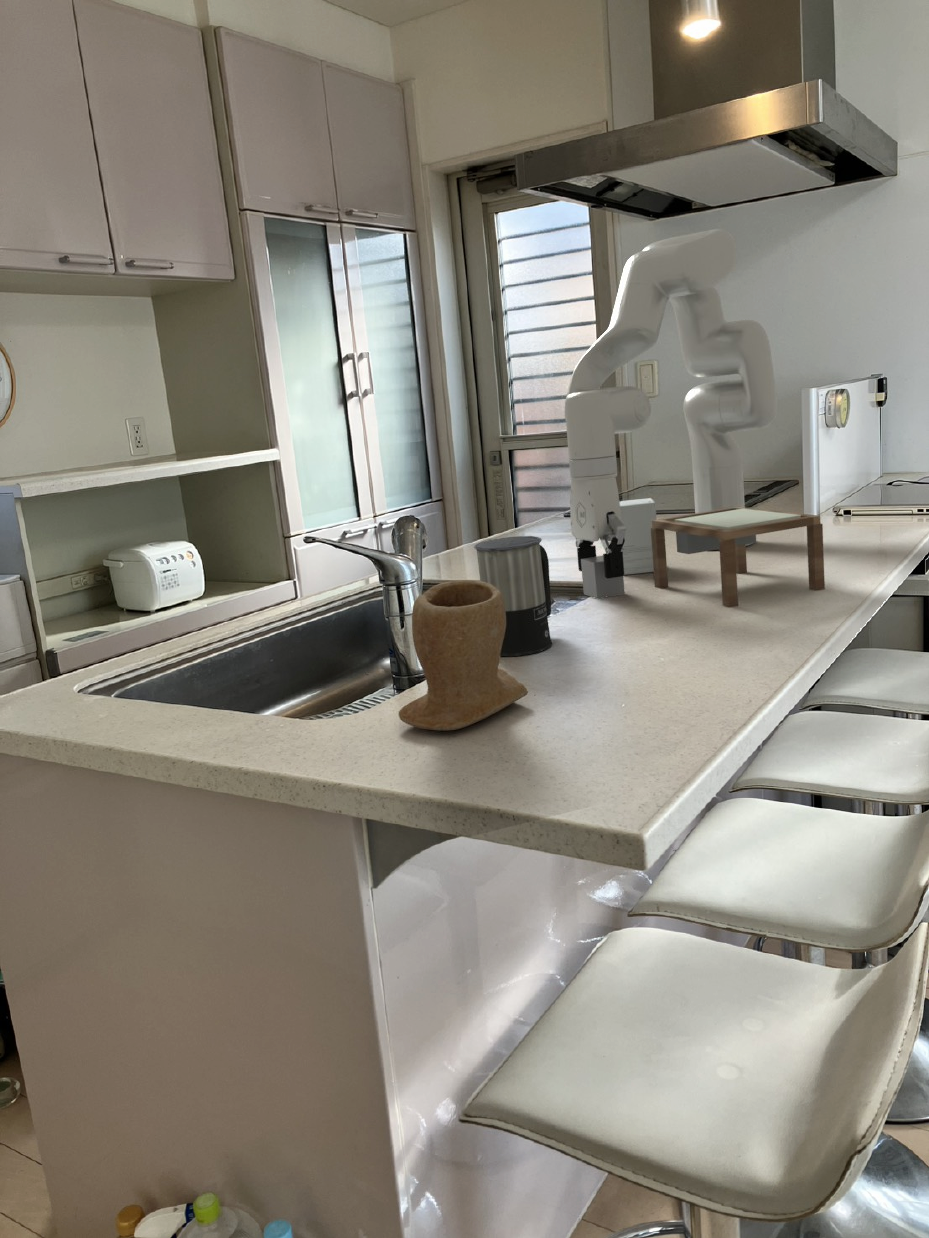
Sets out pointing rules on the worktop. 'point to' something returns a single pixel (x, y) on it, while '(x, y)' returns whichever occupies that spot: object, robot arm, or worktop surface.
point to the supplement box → (638, 535)
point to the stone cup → (460, 656)
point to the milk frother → (519, 590)
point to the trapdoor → (725, 527)
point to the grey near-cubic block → (599, 579)
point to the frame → (738, 548)
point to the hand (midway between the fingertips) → (600, 573)
